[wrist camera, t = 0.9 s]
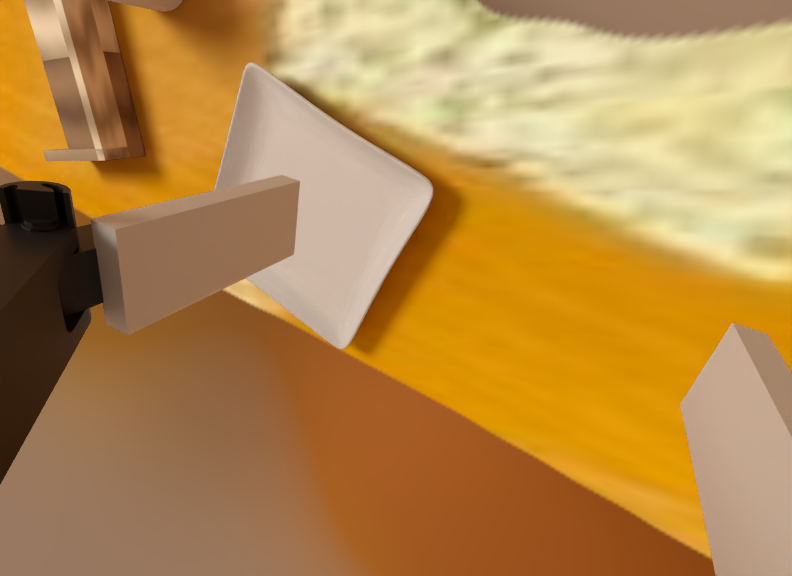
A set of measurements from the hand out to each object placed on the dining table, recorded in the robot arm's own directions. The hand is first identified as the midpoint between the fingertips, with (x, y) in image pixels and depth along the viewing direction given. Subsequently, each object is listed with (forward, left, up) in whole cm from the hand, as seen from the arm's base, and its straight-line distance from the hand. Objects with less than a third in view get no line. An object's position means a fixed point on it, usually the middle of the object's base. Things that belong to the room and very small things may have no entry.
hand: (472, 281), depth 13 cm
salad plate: (+4, -24, -26) cm, 35 cm away
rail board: (-14, -53, -26) cm, 60 cm away
